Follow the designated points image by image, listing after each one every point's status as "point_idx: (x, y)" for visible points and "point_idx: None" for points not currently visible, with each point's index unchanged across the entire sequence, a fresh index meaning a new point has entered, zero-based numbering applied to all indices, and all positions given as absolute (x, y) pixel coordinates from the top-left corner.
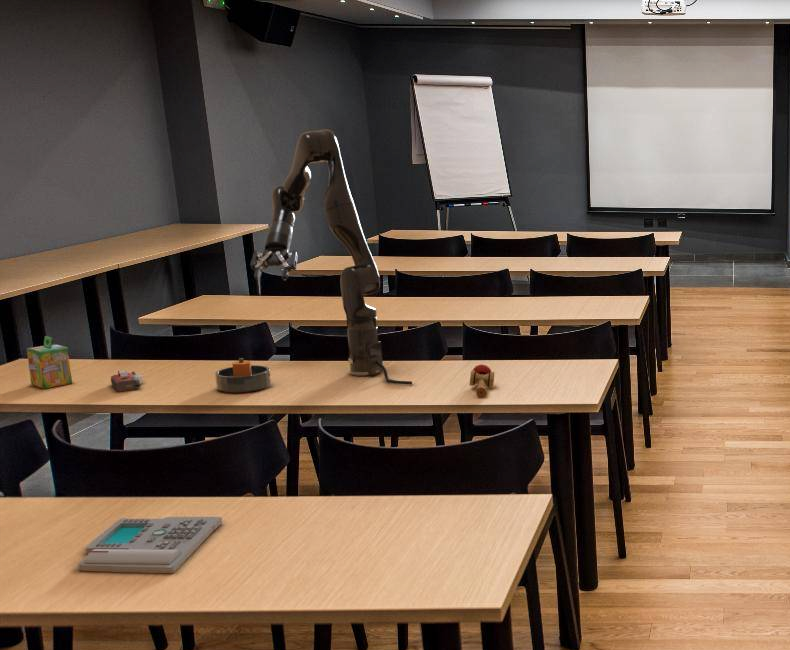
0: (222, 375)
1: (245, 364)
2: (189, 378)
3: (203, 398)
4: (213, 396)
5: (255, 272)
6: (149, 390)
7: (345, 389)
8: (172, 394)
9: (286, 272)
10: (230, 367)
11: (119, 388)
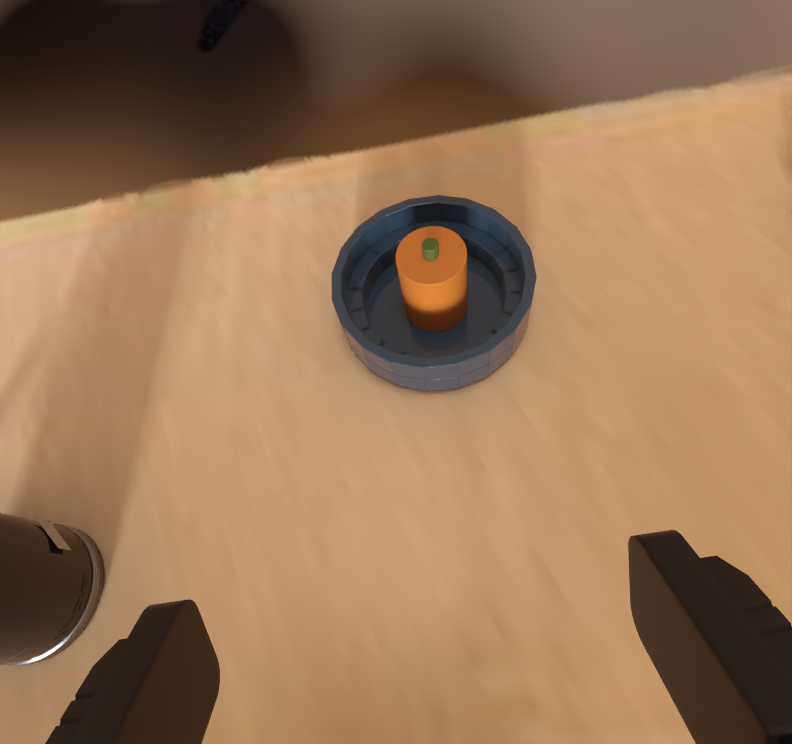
0: (522, 285)
1: (402, 242)
2: (757, 390)
3: (490, 181)
4: None
5: (780, 641)
6: (754, 217)
7: (86, 347)
8: (626, 195)
9: (72, 725)
10: (517, 315)
11: None
